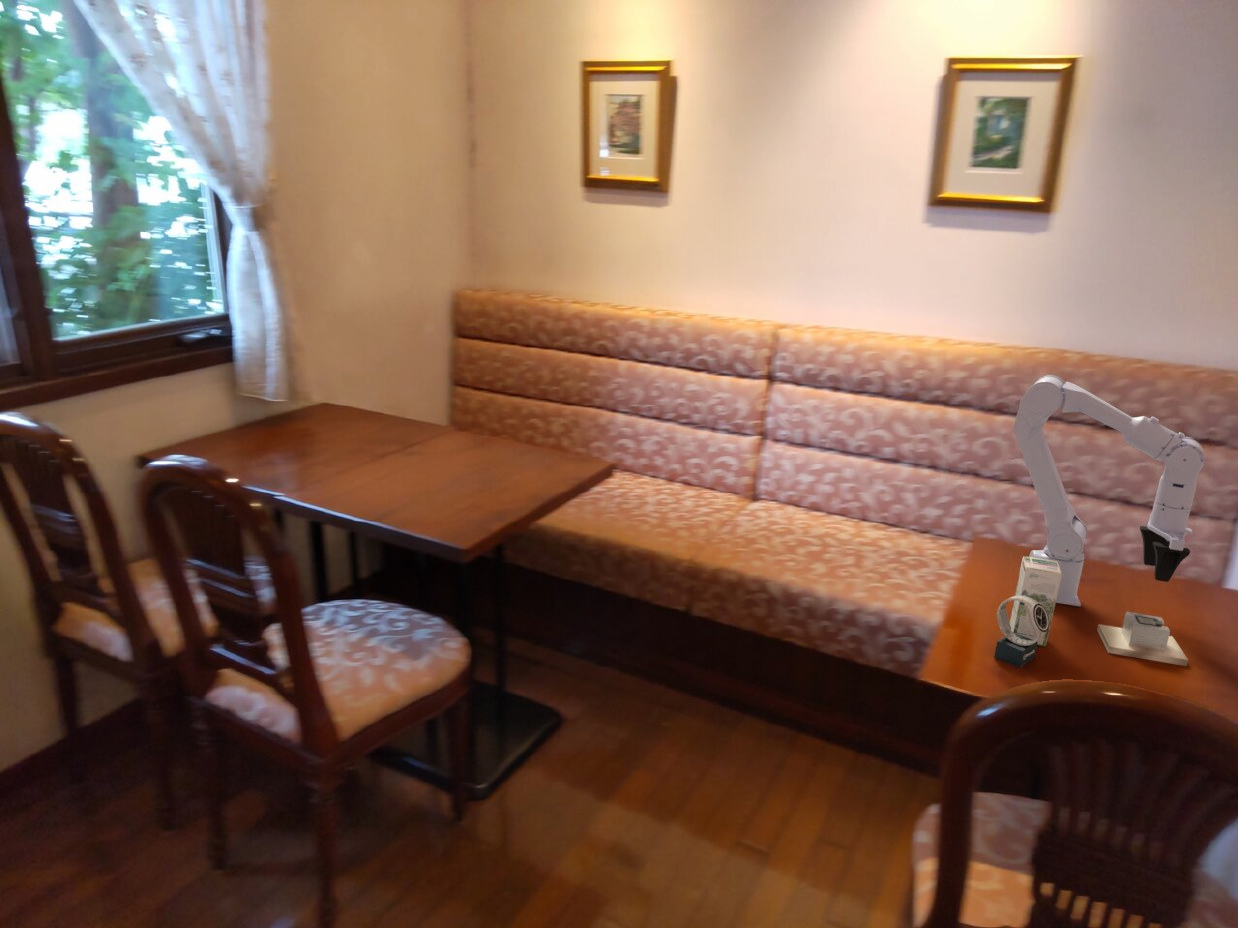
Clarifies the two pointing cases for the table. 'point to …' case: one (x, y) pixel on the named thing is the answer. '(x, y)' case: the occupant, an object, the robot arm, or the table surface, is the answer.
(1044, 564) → the syrup box
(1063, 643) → the table surface
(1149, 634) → the grey slotted channel block
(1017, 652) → the watch
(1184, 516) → the robot arm
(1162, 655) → the keyed post base
